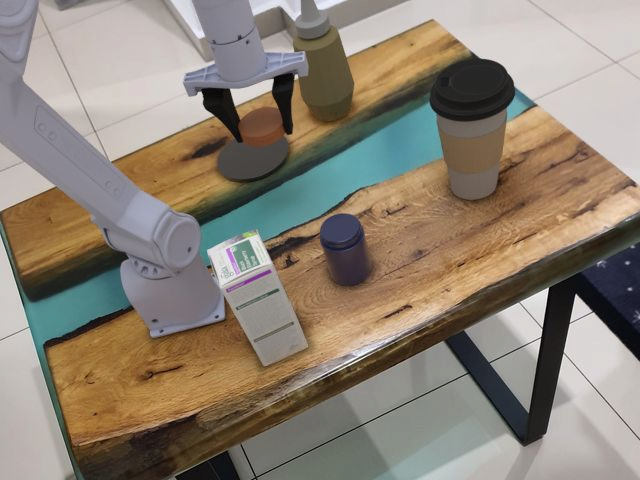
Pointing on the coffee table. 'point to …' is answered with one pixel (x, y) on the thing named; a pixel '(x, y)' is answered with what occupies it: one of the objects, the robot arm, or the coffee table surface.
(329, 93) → the squeeze bottle
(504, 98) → the coffee cup
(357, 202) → the coffee table surface
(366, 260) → the jar
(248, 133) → the jar lid
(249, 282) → the syrup box
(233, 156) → the coaster
